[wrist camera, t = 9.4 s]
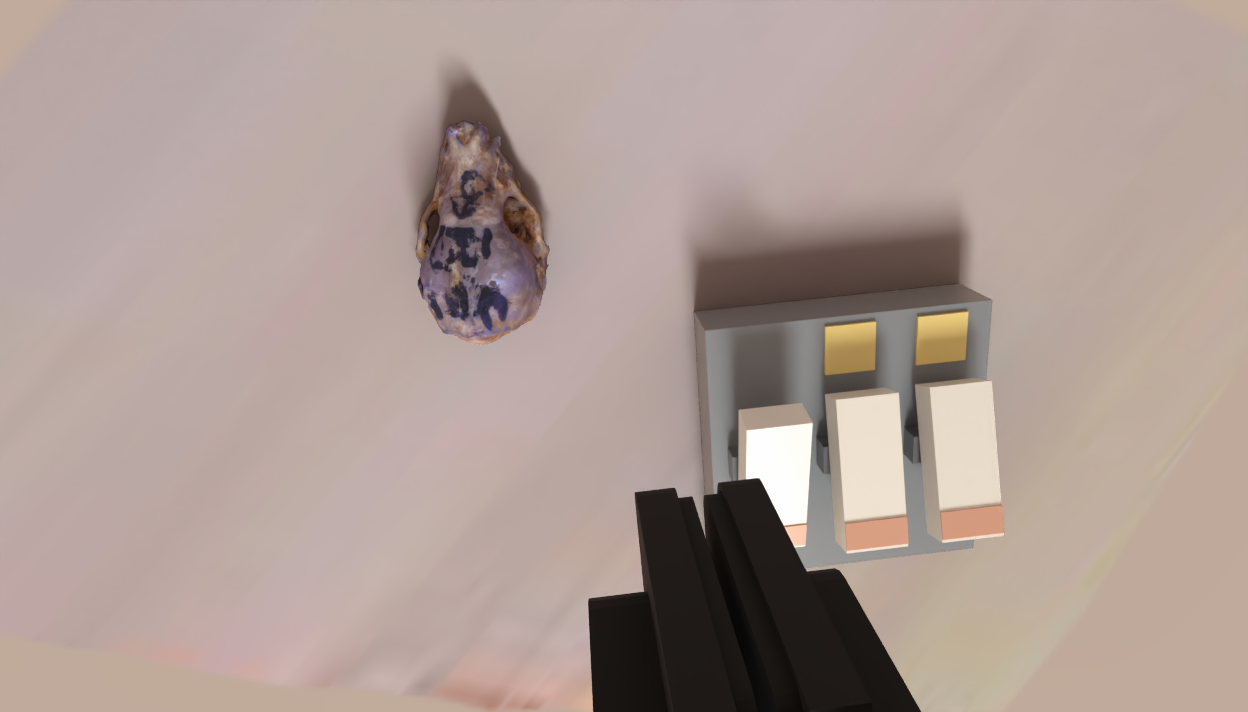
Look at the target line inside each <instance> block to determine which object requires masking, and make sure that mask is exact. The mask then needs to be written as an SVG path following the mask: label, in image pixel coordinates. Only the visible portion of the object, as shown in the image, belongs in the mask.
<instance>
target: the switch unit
mask: <svg viewBox="0 0 1248 712" xmlns="http://www.w3.org/2000/svg"><path fill="white" fill-rule="evenodd" d="M991 312H992V300H991V299H989V298H987V297H985V296H983V295H981V294H979V293H977V292H975V291H973V290H971V289H969V288H967V287H965V286H963V285H961V284H950V285H941V286H932V287H922V288H913V289H903V290H894V291H884V292H875V293H865V294H856V295H846V296H837V297H828V298H818V299H809V300H799V301H790V302H780V303H771V304H761V305H752V306H742V307H733V308H724V309H714V310H705V311H695V312H694V321H695V338H696V355H697V371H698V388H699V405H700V422H701V439H702V455H703V472H704V489H705V495H709V494H717V485H718V483H719V482H727V481H736V480H738V446H739V410H741V409H750V408H759V407H768V406H777V405H786V404H795V403H802V404H803V406H804V408H805V409H806V411H807V413H808V415H809V417H810V419H811V421H812V423H813V426H812V442H811V458H810V474H809V490H808V506H807V522H806V524H807V531H806V545H805V546H803V547H795V549H796V551H797V553H798V555H799V557H800V559H801V561H802V563H803V565H804V567H805V568H811V567H819V566H828V565H836V564H844V563H853V562H861V561H869V560H878V559H886V558H894V557H903V556H911V555H920V554H928V553H936V552H945V551H953V550H961V549H970V548H973V546H974V539H972V540H964V541H955V542H947V543H942V542H940V541H939V540H937V539H936V538H934V537H932V536H931V535H929V534H928V533H927V525H926V513H925V501H924V489H923V477H922V465H921V453H920V441H919V429H918V417H917V405H916V393H915V384H923V383H932V382H941V381H950V380H959V379H968V378H978V379H984V380H986V377H987V364H988V351H989V338H990V325H991ZM884 387H885V388H888V389H890V390H893V391H895V392H898V393H899V403H900V419H901V436H902V452H903V468H904V484H905V501H906V516H907V522H908V538H909V544H908V546H907V547H899V548H890V549H882V550H874V551H865V552H857V553H848V554H847V553H846V552H845V551H844V550H843V549H842V548H841V547H840V546H839V545H838V544H837V542H836V540H835V527H834V513H833V499H832V485H831V472H830V458H829V444H828V430H827V417H826V403H825V394H830V393H839V392H848V391H857V390H866V389H875V388H884Z"/></svg>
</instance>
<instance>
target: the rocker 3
mask: <svg viewBox="0 0 1248 712" xmlns="http://www.w3.org/2000/svg"><path fill="white" fill-rule="evenodd" d="M915 393H916V405H917V417H918V429H919V441H920V453H921V465H922V477H923V489H924V501H925V513H926V525H927V533H928V534H929V535H931V536H932V537H934V538H936V539H937V540H939V541H940V542H942V543H947V542H955V541H964V540H972V539H980V538H989V537H997V536H1004V521H1003V509H1002V505H1001V494H1000V482H999V469H998V456H997V443H996V430H995V417H994V404H993V391H992V381H991V380H984V379H978V378H968V379H959V380H950V381H941V382H932V383H923V384H915Z"/></svg>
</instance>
